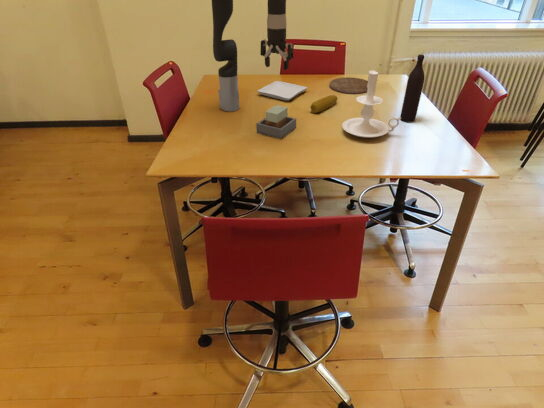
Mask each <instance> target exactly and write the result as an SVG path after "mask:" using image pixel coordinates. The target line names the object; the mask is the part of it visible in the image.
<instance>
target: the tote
mask: <svg viewBox="0 0 544 408" xmlns="http://www.w3.org/2000/svg"><path fill="white" fill-rule="evenodd" d="M255 126H256V134H260V135H263V136H267V137H271V138H275V139H278V140H282V139H284V138H285V137H287V135H289V134H290V133H291V132H293V131H294V130H295V129H296V128H297V118H296V117H292V116H287V124H286V125H285V126H283V127H282V128H281V129H280V128H276V127H272V126H268V125H266V117H264V118H262V119H261V120H260V121H258V122H256V125H255Z"/></svg>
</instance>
